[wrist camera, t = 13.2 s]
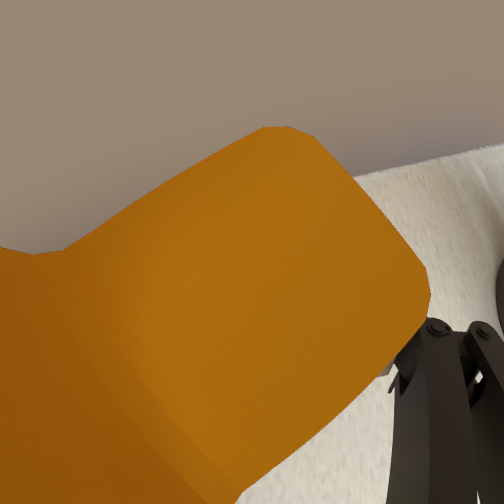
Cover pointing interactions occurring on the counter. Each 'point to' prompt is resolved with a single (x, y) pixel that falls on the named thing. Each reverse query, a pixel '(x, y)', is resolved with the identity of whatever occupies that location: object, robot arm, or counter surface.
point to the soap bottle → (200, 330)
